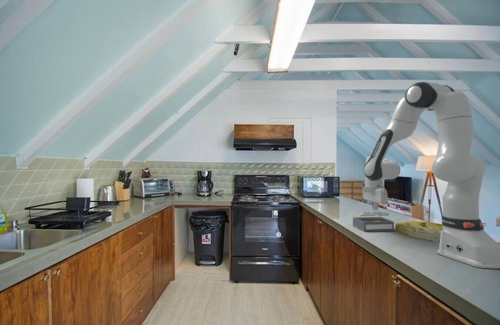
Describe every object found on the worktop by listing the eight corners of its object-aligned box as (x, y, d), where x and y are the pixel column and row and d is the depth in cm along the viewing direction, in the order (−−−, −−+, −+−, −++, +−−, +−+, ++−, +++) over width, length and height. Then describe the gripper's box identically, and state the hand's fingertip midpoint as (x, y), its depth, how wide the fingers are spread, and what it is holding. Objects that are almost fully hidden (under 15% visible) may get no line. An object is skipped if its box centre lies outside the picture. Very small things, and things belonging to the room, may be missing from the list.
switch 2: (379, 214, 141) (379, 211, 141) (372, 214, 141) (371, 211, 141) (372, 215, 149) (372, 212, 149) (365, 215, 148) (365, 212, 149)
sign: (406, 233, 122) (390, 220, 151) (407, 240, 122) (391, 226, 151) (478, 237, 114) (447, 222, 143) (478, 244, 114) (447, 228, 143)
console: (394, 231, 138) (394, 221, 138) (364, 231, 137) (364, 222, 137) (380, 225, 152) (379, 216, 152) (352, 225, 152) (352, 216, 152)
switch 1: (370, 215, 141) (370, 211, 141) (363, 215, 141) (362, 211, 141) (363, 215, 148) (363, 212, 149) (356, 216, 148) (356, 212, 149)
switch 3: (388, 215, 141) (388, 212, 141) (381, 215, 141) (381, 212, 141) (380, 214, 149) (380, 211, 149) (373, 214, 149) (373, 211, 149)
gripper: (391, 186, 132) (391, 213, 132) (370, 183, 152) (371, 206, 152) (378, 186, 131) (379, 213, 131) (360, 183, 152) (360, 207, 152)
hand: (374, 210), depth 142 cm, fingers closed
